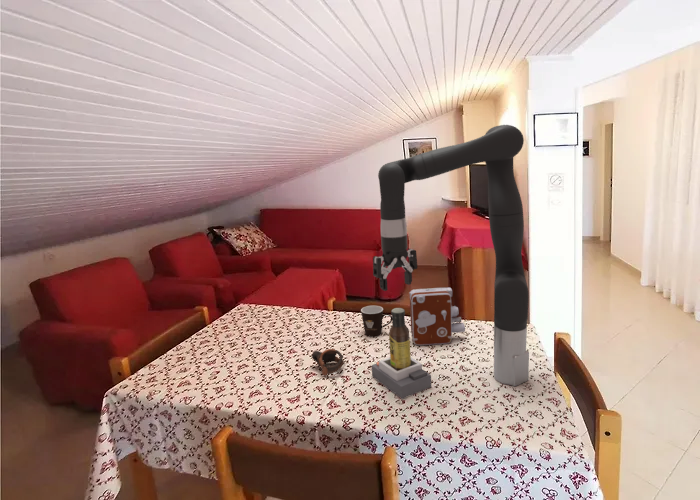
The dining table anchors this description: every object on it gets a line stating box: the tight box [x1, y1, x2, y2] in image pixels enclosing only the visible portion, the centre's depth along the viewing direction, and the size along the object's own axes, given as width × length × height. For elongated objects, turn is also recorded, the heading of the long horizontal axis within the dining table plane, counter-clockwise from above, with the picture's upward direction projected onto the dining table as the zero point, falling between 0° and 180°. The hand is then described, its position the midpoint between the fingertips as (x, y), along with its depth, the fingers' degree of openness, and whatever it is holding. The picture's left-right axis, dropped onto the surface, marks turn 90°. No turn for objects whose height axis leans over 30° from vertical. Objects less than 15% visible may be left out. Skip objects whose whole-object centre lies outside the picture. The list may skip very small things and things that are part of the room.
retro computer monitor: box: [371, 356, 432, 400], centre depth 140 cm, size 16×11×6 cm
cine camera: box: [408, 287, 466, 346], centre depth 164 cm, size 9×19×20 cm, turn 89°
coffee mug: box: [360, 305, 392, 338], centre depth 174 cm, size 12×9×10 cm
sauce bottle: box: [388, 307, 412, 371], centre depth 137 cm, size 6×6×20 cm
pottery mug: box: [311, 348, 346, 377], centre depth 151 cm, size 12×10×8 cm
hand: (396, 287), depth 133 cm, fingers open, 8 cm apart
